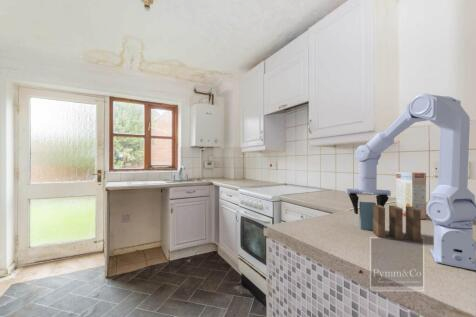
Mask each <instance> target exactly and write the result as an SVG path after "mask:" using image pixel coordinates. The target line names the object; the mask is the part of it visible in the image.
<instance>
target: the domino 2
mask: <svg viewBox="0 0 476 317" xmlns="http://www.w3.org/2000/svg"><path fill="white" fill-rule="evenodd" d="M372 233H373V235H375V236H376V237H377V238H382V239H386V207H385V206H384V207H383V206H381V205H377V204H376V205H373V230H372Z"/></svg>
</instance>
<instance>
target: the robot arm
mask: <svg viewBox="0 0 476 317" xmlns="http://www.w3.org/2000/svg"><path fill="white" fill-rule="evenodd" d="M461 103H462V101H461V100H459V99H456V98H455V97H452V96H448V95H447V96H445V95H444V96H443V95H436V94H429V93H420V94H418V95H416V96H415V97H414V98H412V100H411V101H410V102H409V103H407V104H405V105H406V106H405V110H404V111H403V112H402V113H401V114H400V115H399V116H398V118H396V120H394V121H393V123H391V125H390V126H388V128H387V129H386V130H385V131H378V132H376V133H375V134H374V136H372V138H371V139H369V141H367V142H366V144H364V145H363V144H362V145H359V146H358V147H357V148H356V150H355V154H354V155H355V158H356V159H357V160H358V188H345V194H346V195H348V197H349V200H350V201H351V204H352V207H353V210H354V211H353V212H354V213H353V214H355V215H358V214H359V199H360V198H359V196H358V195H363V196H375V198H376V205H381V206H383V207H385V206H386V203H387V202H388V200H389V197H391V196H392V194H391V193H392V191H391V190H390V189H389V190H388V189H387V190H386V189H378V188H377V186H378V184H377V182H378V181H377V177H378V176H377V174H378V173H377V172H378V171H377V169H378V168H377V167H378V165H379V160H380V158H381V155H382V153H384V152H385V151H386V150H387V149H389V147H391V146H392V145H393V144H394V143H395V138H397V136H399V135H400V134H402V133H403V132H404V131H405V130H406V129H408V128H409V127H411V126H412V125H414V124H416V123H419V122H420V123H421V122H425V121H426V122H427V121H429V122H431V123H432V124H434V125H435V126H437V127H439V143H438V145H439V146H438V147H439V148H438V173H437V174H438V175H437V176H438V177H437V186H436V187H435V189H433V191H432V192H431V193H430V200H429V201H428V203H426V215H428V217H429V218H430V220H431V221H432V224H433V248H430V249H429V252H430V254H431V256H432V258H433V260H434V262H435V263H437V264H442V265H447V266H452V267H458V268H461V269H468V270H472V271H476V241H475V240H474V236H473V234H474V233H473V231H474V229H473V228H474V227H473V225H474V221H475V222H476V195H475V194H474V193H473V192H472V191H471V190H469V188H468V184H469V183H468V182H469V181H468V179H469V156H470V154H469V153H470V152H469V150H470V148H469V147H470V125H471V119H470V116H469V114H468V112H466V111H465V109H464V108H463V106H462V105H461Z"/></svg>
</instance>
